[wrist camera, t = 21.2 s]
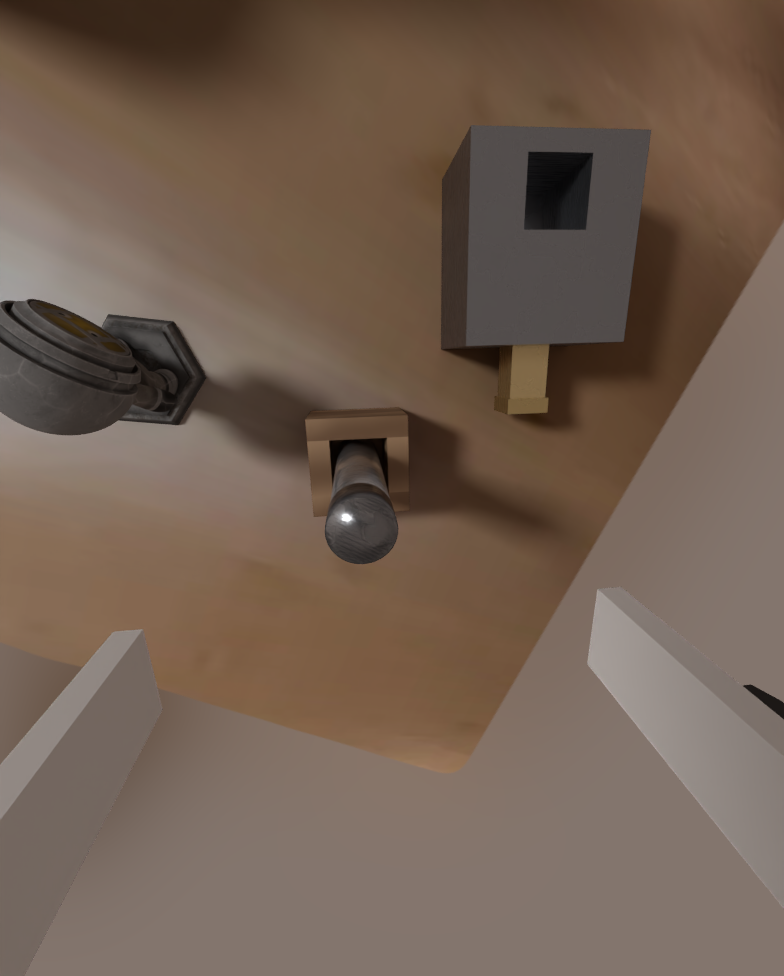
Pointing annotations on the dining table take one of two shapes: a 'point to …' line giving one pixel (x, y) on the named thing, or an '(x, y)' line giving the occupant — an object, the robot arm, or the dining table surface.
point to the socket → (540, 235)
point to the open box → (358, 424)
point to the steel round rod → (360, 506)
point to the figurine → (91, 369)
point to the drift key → (522, 379)
